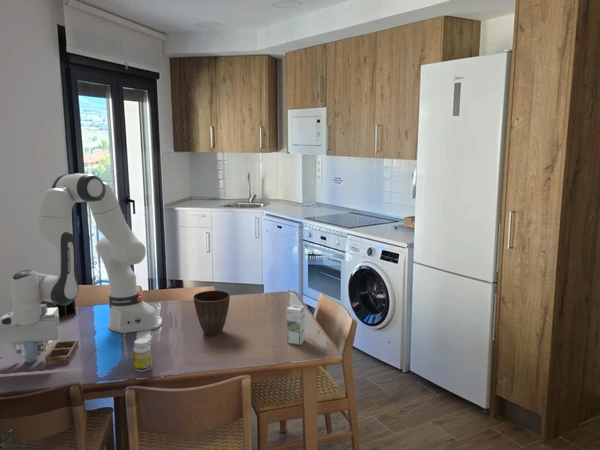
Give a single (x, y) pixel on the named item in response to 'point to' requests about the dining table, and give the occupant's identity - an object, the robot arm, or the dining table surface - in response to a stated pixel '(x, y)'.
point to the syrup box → (295, 324)
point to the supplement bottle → (142, 355)
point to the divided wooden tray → (62, 352)
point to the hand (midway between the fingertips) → (31, 352)
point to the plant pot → (212, 310)
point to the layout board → (40, 344)
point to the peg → (31, 351)
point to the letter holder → (62, 309)
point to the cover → (48, 310)
